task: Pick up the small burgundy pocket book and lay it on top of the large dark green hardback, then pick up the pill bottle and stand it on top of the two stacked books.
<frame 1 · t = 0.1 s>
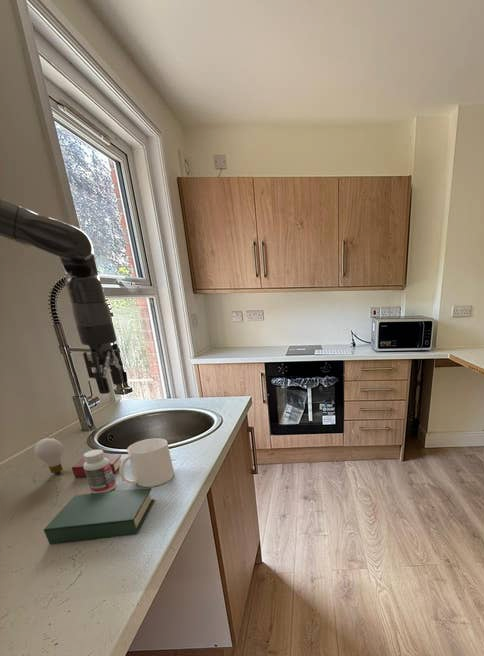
hand: (112, 388, 90), 22 cm above the countertop, tool pointing down, fingers open, 8 cm apart
light bulb: (58, 473, 93), on the countertop
pocket book: (100, 470, 94), on the countertop
pill bottle: (104, 489, 86), on the countertop
hardback: (106, 520, 74), on the countertop
mug: (149, 480, 89), on the countertop
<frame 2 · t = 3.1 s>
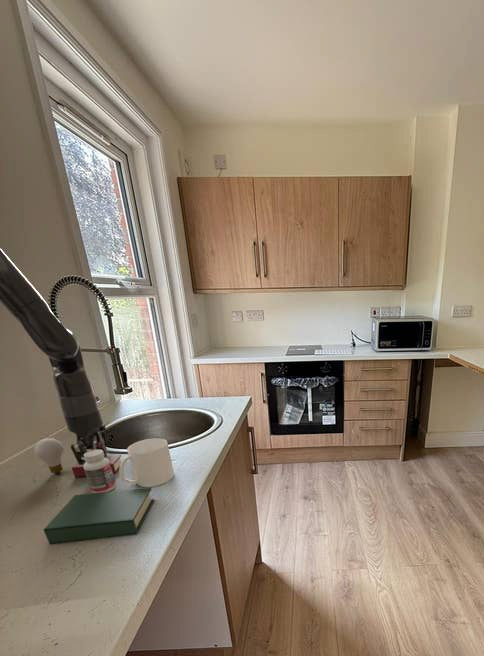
hand: (99, 469, 94), 1 cm above the countertop, tool pointing down, fingers closed on pocket book, 5 cm apart
pocket book: (100, 470, 94), on the countertop, touching gripper
everything else where it was.
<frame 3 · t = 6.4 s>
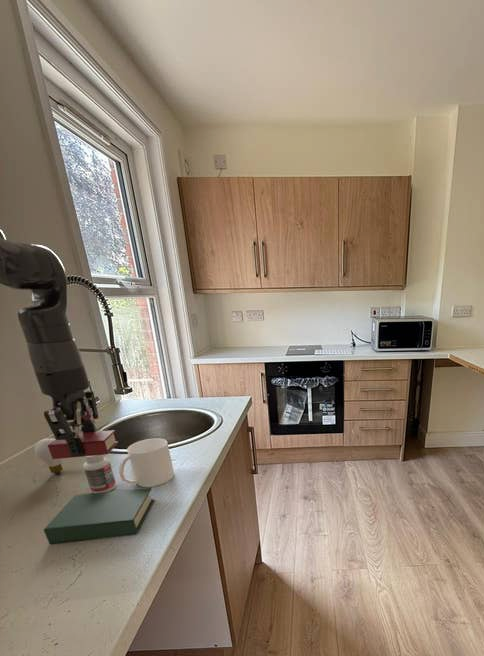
hand: (86, 448, 70), 16 cm above the countertop, tool pointing down, fingers closed on pocket book, 5 cm apart
pocket book: (86, 450, 71), point 15 cm above the countertop, touching gripper
everything else where it was.
when the fingers open (4 cm above the countertop, at t = 9.7 s): pocket book stays where it is, resting on hardback.
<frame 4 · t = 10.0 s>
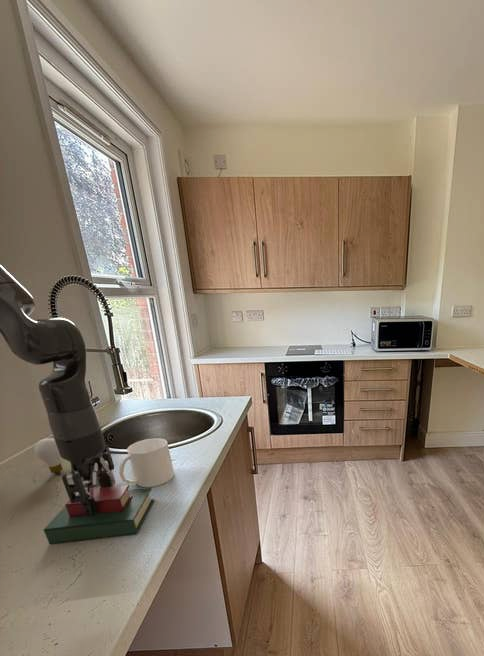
hand: (101, 503, 72), 4 cm above the countertop, tool pointing down, fingers open, 7 cm apart
pocket book: (102, 506, 72), point 4 cm above the countertop, touching hardback
hardback: (106, 520, 74), on the countertop, touching pocket book
everything else where it was.
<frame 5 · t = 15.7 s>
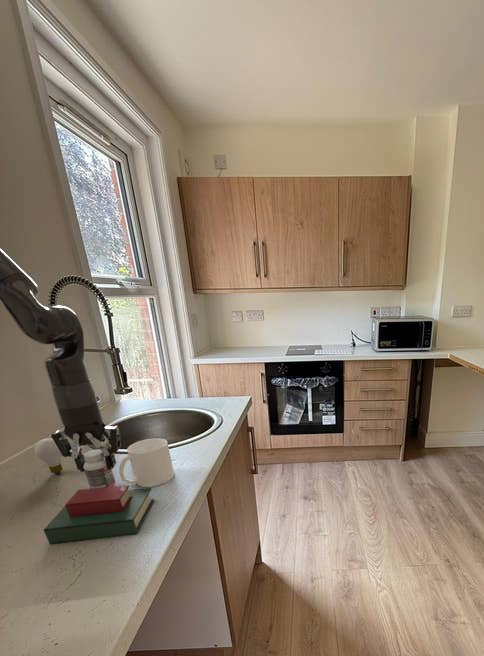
hand: (98, 468, 83), 5 cm above the countertop, tool pointing down, fingers closed on pill bottle, 5 cm apart
pill bottle: (104, 489, 86), on the countertop, touching gripper
everything else where it was.
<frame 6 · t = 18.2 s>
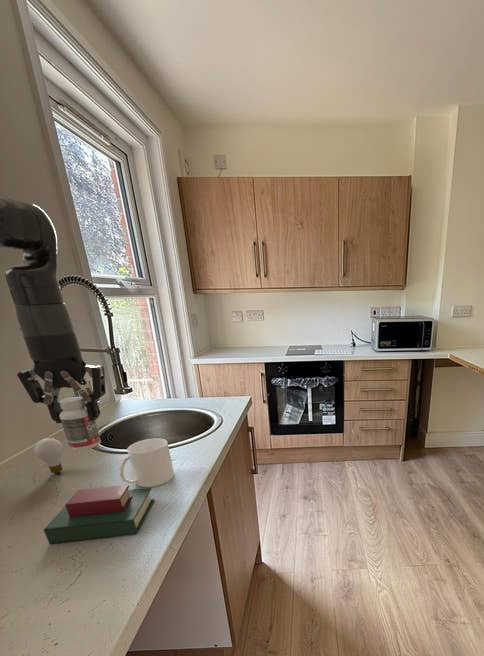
hand: (77, 420, 68), 22 cm above the countertop, tool pointing down, fingers closed on pill bottle, 5 cm apart
pill bottle: (86, 446, 70), point 16 cm above the countertop, touching gripper
everything else where it was.
when the fingers open (12 cm above the countertop, at t = 21.1 s): pill bottle stays where it is, resting on pocket book.
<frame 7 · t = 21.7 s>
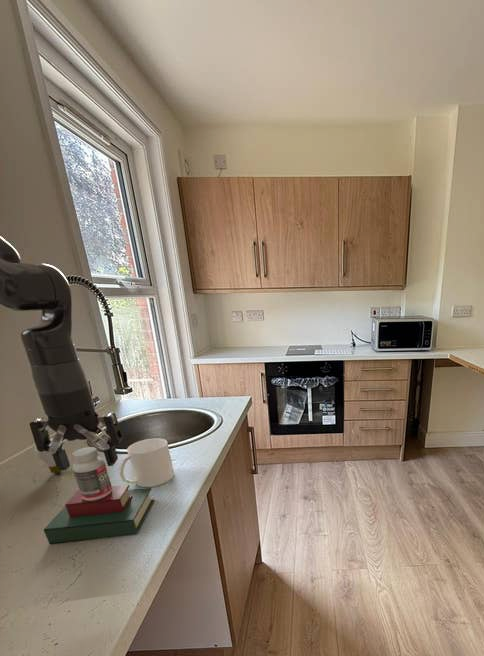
hand: (89, 466, 68), 13 cm above the countertop, tool pointing down, fingers open, 8 cm apart
pocket book: (102, 506, 72), point 4 cm above the countertop, touching hardback, pill bottle
pill bottle: (98, 495, 71), point 6 cm above the countertop, touching pocket book
everything else where it was.
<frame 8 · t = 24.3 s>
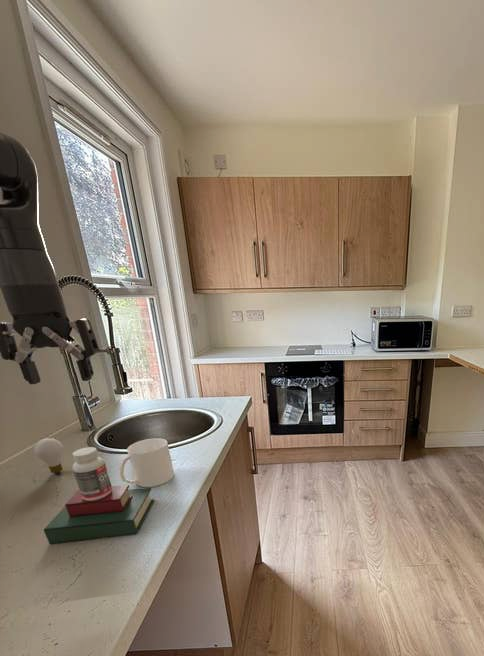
hand: (61, 381, 62), 30 cm above the countertop, tool pointing down, fingers open, 8 cm apart
nothing on the countertop moved.
at the end: pocket book 0.1 cm off-centre on the hardback, point 3.5 cm above the hardback's base; pill bottle 0.1 cm off-centre on the pocket book, point 2.8 cm above the pocket book's base; pill bottle tilted 0° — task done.
